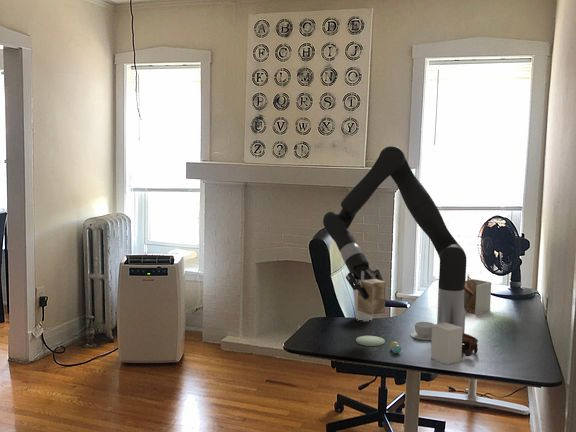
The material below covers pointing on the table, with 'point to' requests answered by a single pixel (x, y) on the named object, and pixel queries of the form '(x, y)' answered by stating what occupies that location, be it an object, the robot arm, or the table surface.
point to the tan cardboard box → (372, 297)
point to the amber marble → (394, 344)
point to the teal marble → (396, 349)
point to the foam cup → (360, 314)
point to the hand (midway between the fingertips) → (374, 297)
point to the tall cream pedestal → (446, 343)
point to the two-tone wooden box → (477, 295)
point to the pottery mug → (469, 344)
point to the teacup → (423, 330)
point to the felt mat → (370, 340)
